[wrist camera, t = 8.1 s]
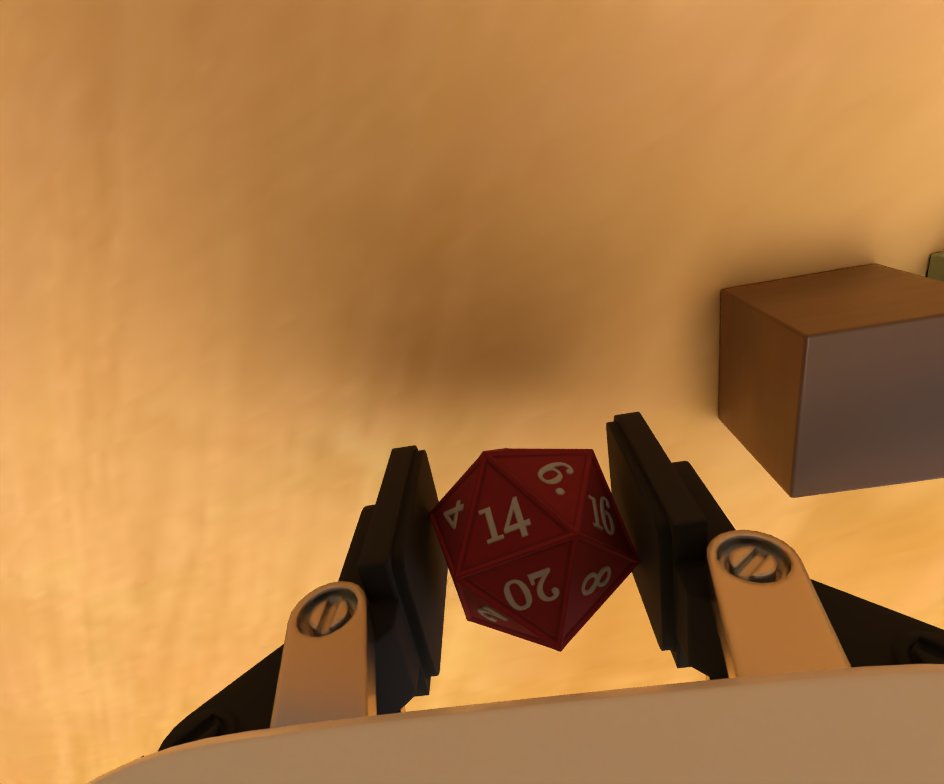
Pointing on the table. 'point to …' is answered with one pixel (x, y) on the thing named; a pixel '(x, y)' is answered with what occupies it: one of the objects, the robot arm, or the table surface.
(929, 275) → the sage block
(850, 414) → the walnut block
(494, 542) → the dice
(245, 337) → the table surface
